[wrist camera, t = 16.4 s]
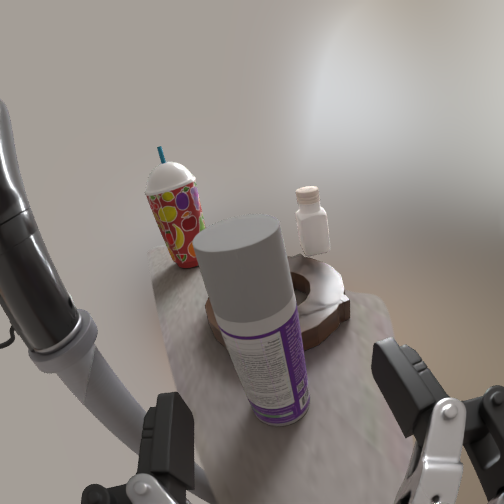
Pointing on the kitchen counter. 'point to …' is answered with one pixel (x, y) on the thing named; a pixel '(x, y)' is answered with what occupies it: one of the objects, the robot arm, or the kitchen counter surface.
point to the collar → (310, 301)
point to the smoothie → (176, 209)
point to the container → (257, 312)
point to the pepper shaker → (312, 222)
